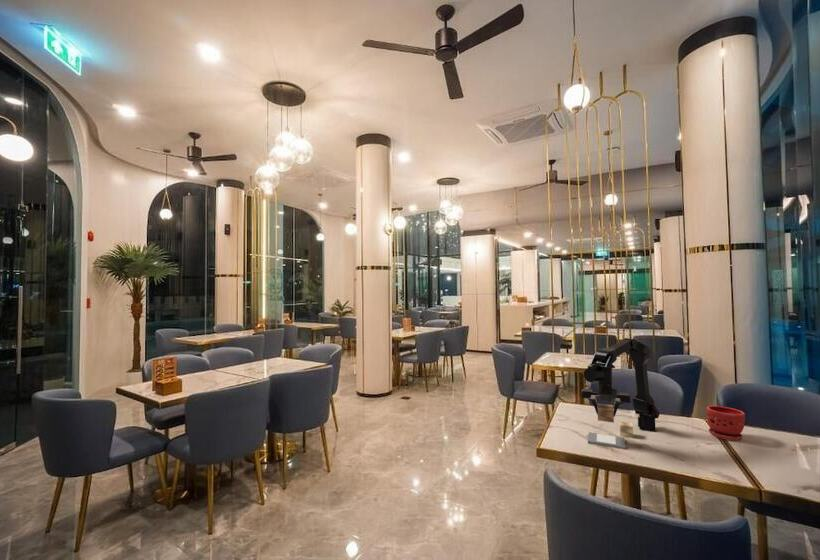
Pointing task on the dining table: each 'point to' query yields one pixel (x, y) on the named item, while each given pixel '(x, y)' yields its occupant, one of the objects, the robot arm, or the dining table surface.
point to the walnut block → (605, 413)
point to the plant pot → (725, 422)
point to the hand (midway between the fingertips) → (605, 415)
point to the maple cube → (626, 429)
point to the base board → (606, 440)
